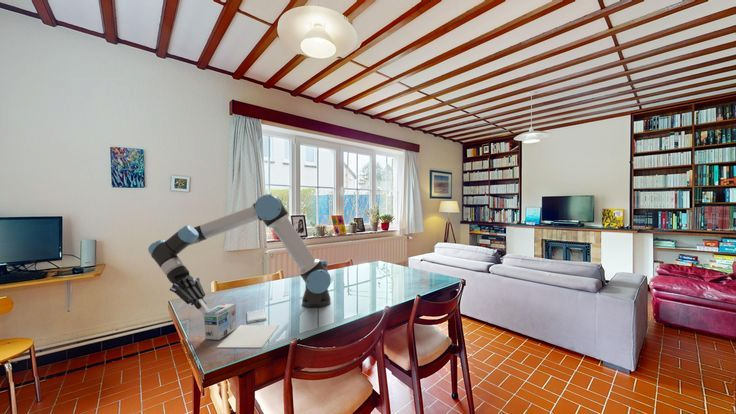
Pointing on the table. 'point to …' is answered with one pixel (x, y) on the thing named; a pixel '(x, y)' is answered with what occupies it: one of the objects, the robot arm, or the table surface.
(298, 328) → the table surface
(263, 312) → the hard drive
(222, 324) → the light bulb box
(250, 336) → the felt mat
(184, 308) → the table surface
